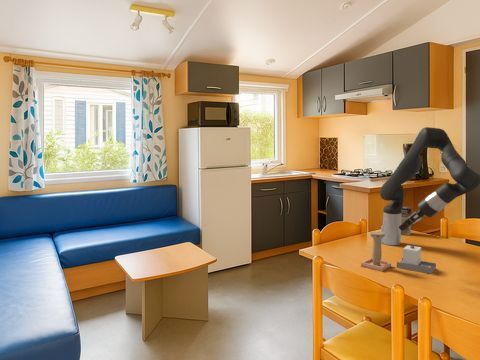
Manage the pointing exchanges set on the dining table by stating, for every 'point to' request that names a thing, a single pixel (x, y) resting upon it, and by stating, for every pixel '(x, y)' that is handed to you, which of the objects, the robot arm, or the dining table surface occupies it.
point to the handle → (376, 247)
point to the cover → (412, 255)
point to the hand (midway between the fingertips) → (403, 227)
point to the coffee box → (404, 216)
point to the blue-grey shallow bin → (418, 266)
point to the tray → (369, 264)
